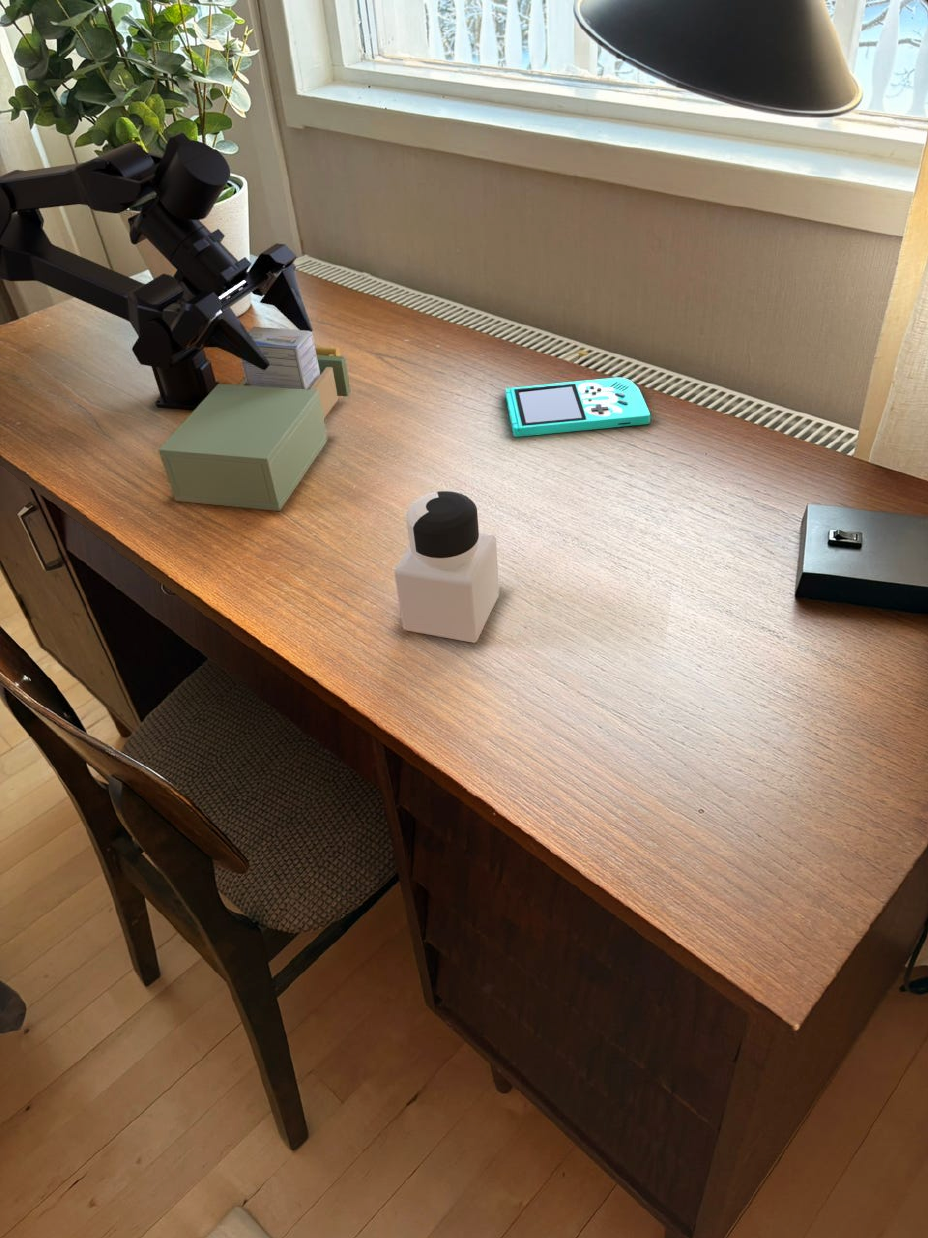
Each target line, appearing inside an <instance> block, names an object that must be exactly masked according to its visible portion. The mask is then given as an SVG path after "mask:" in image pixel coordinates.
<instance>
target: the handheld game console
mask: <svg viewBox="0 0 928 1238" xmlns="http://www.w3.org/2000/svg"><path fill="white" fill-rule="evenodd" d="M504 391H505V393H504V394H505V402H506V407H507V412H508V416H509V420H510V421H509V422H510V426H511V430H512V431H511V432H512V435H513V437H514V438H515V437H516V438H519V437H529V436H539V435H540V436H541V435H550V434H559V433H570V432H580V431H581V432H582V431H590V430H601V429H611V428H621V427H631V426H641V425H649V424H650V422H651V413H650V411H649V408H648V406H647V404H646V401H645V398H644V397H643V394H642V392H641V390H640V389H639V387H638V385H637V384H636V383H634V382H633V381H632V380H630V379H628V378H624V377H609V378H608V377H607V378H598V379H597V378H596V379H588V380H578V381H576V380H575V381H566V382H556V383H547V384H535V385H526V386H515V387H508V388H505V390H504Z"/></svg>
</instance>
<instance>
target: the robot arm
mask: <svg viewBox="0 0 928 1238" xmlns="http://www.w3.org/2000/svg"><path fill="white" fill-rule="evenodd" d="M164 148H165V149H164V152H163V154H162V155H159V154H155V153H151V152H148V151H147V150H145V149H144V147H143V146H142V145H141V144H139V143H137V142H128V143H126V144H125V143H124V144H123V145H121V146H118V147H117V148H113V149H111V150H110V151H108V152H105V153H103V154H101V155H98V156H96V157H94V158H92V159H90V160H88V161H85V162H79V163H78V162H77V163H72V164H63V165H57V166H51V167H43V168H36V169H28V170H22V169H21V170H20V169H14V170H11V171H10V172H7V173H4V174H2V175H0V280H4V281H7V282H38V283H40V284H42V285H45V286H48V287H50V288H53V289H54V290H57V291H59V292H60V293H61V292H62V293H64V294H66V295H68V296H71V297H72V298H75V299H77V300H78V301H79V300H80V301H81V302H84V303H86V304H89V305H90V306H93V307H95V308H97V309H100V310H102V311H104V312H107V313H109V314H111V315H114V316H116V317H118V318H120V319H123V320H125V321H127V322H129V323H130V325H131V326H132V329H133V330H134V331H135V333H136V335H137V337H138V338H137V339H136V341H135V343H133V346H132V347H131V351H132V353H133V354H134V356H135V358H136V359H137V361H138V363H139V364H140V365H142V366H147V367H151V370H152V374H153V377H154V379H155V383H156V385H157V389H158V392H159V395H160V396H159V398H157V399H156V400H155V401H154V404H155V406H156V407H157V408H171V409H172V408H173V409H185V410H195V409H196V408H197V407H198V406H199V405H200V403H201V402H202V401H203V400H204V399H205V398H206V397H207V396H208V395H209V394H210V392H211V391H212V390H213V389H214V388H215V387H216V386H217V385H218V384H221V382H220V381H216V378H215V374H214V370H213V367H212V362H211V360H210V359H207V355H206V352H205V348H216V349H220V350H223V351H224V352H227V353H229V354H231V355H233V356H236V357H237V358H239V359H240V360H241V359H243V360H245V361H247V362H249V363H250V364H252V365H254V366H256V367H258V368H260V369H262V370H266V369H267V368H268V367H269V362H268V360H267V359H266V357H265V355H264V354H263V352H262V351H261V349H260V348H259V347H258V345H257V344H256V342H255V341H254V340H253V338H252V337H251V336H250V334H249V333H248V332H249V331H248V330H247V329H246V327H245V326H244V324H243V323H242V321H240V319H239V318H238V316H237V314H235V312H234V310H233V309H232V308H231V307H232V306H234V305H235V304H237V303H239V301H241V300H242V299H244V298H245V297H247V296H248V295H250V294H253V295H256V296H259V297H261V299H260V301H259V303H260V304H264V305H270V306H273V307H275V308H276V309H277V310H278V311H279V312H280V313H281V314H282V315H283V316H284V317H285V318H286V319H287V320H288V321H289V322H290V323H291V324H292V325H293V326H294V327H295V328H296V329H297V330H303V331H310V332H312V333H313V332H314V331H313V326H312V323H311V320H310V317H309V314H308V312H307V309H306V307H305V304H304V301H303V298H302V295H301V291H300V289H299V285H298V281H297V278H296V274H295V271H296V269H297V265H296V264H295V261H296V259H297V258H298V256H297V255H296V254H295V253H294V251H292V250H291V248H289V246H288V245H287V244H284V243H277V242H276V243H274V244H273V245H271V246H270V247H268V248H267V249H266V250H264V251H263V252H261V253H260V254H259V255H258V257H257V258H256V259H255V261H254V263H253V264H252V262H251V261H249V259H248V258H247V257H246V256H244V257H243V258H241V259H240V260H238V259H237V258H236V257H235V256H234V255H233V254H232V253H231V252H230V250H229V249H228V248H227V247H226V246H225V245H224V244H223V243H222V241H223V240H224V238H225V237H226V235H225V234H224V233H223V232H222V231H221V230H220V229H219V228H217V229H216V230H214V231H210V230H209V228H208V227H206V225H205V224H204V223H203V222H202V221H201V220H204V219H206V218H207V217H208V216H209V215H210V213H211V211H212V210H213V208H214V206H215V204H216V203H217V201H218V200H219V198H220V196H221V194H222V193H223V191H224V189H225V187H226V186H227V184H228V182H229V181H230V178H231V167H230V165H229V163H228V161H227V159H226V158H225V156H223V153H221V152H220V151H219V150H218V149H216V148H213V147H212V146H210V145H209V144H206V143H205V142H202V141H199V140H195V139H190V138H189V137H188V136H187V135H186V134H185V133H184V132H182V131H181V132H179V133H176V134H174V135H172V136H170V137H168V141H167V142H166V144H165V147H164ZM153 196H155V197H153ZM152 197H153V198H152ZM144 201H145V202H144ZM141 202H144V203H143V205H142V208H141V209H140V210H139V212H138V213H136V214H134V215H132V216H130V217H128V218H127V223H128V226H129V239H130V243H131V244H132V245H137V244H139V243H141V242H143V241H144V240H147V241H148V242H150V244H151V245H152V246H153V247H154V248H155V249H156V250H157V251H158V252H159V253H160V254H161V255H162V256H163V257H164V258H165V259H166V260H167V262H169V263H170V264H171V265H172V266H173V267H174V268H175V269H176V271H175V273H174V274H173V276H172V275H170V274H166V273H161V274H160V275H158V276H156V277H155V278H153V279H152V280H150V281H148V282H147V283H143V282H141V281H138V280H137V279H134V278H132V277H129V276H127V275H125V274H123V273H120V272H119V271H115V270H113V269H111V268H108V267H106V266H104V265H101V264H99V263H98V262H94V261H92V260H90V259H88V258H85V257H82V256H81V255H78V254H76V253H73V252H72V251H69V250H66V249H64V248H62V247H59V246H57V245H55V244H53V243H52V241H51V240H50V238H49V236H48V235H47V233H46V231H45V229H44V225H45V224H44V223H45V219H44V215H43V214H42V213H41V209H49V208H57V207H58V208H59V207H66V206H67V207H68V206H75V205H81V206H87V207H88V208H89V209H91V210H93V211H95V212H102V213H109V214H120V213H123V212H125V211H127V210H128V209H131V208H133V207H134V206H136V205H138V204H140V203H141ZM251 265H252V266H251Z"/></svg>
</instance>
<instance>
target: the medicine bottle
mask: <svg viewBox="0 0 928 1238" xmlns="http://www.w3.org/2000/svg"><path fill="white" fill-rule="evenodd" d="M405 519H406V528H407V535H408V543H409V546H408V547H407V549H406V551H405V552H404V554H403V556H401V559H400V560H399V562H398V564H397V565H396V566H395V568H394V580H395V586H396V592H397V598H398V606H399V611H400V617H401V623H402V625H401V626H402V629H403V630H404V631H406V632H407V631H408V632H412V633H418V634H423V635H428V636H434V637H440V638H446V639H451V640H454V641H455V640H456V641H461V642H468V643H473V644H476V643H477V642H478V640H479V638H480V636H481V634H482V632H483V629H484V628H485V625H486V624H487V622H488V619H489V617H490V615H491V612H492V611H493V609H494V607H495V605H496V602H497V600H498V599H499V596H500V581H499V566H498V565H499V564H498V550H497V548H498V547H497V536H495V534H492V533H485V532H480V530H479V528H480V527H479V515H478V507H477V505H476V503H475V502H474V501H473V500H472V499H471V498H469V497H468V496H467V495H464V494H463V493H460V492H456V491H451V490H441V491H433V492H429V493H425V494H424V495H422V496H419V497H418V498H417V499H415V500H414V501H413V502H412V503H411V504H410V505H409V507H408V508H407V510H406V513H405Z"/></svg>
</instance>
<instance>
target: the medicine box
mask: <svg viewBox="0 0 928 1238" xmlns="http://www.w3.org/2000/svg"><path fill="white" fill-rule="evenodd" d="M248 333H249V334H250V336H251V337H252V338H253V340H254V341H255V342H256V344H257V345H258V347H259V348H260V349H261V351H262V352H263V354H264V355H265V357H266V359H267V360H268V362H269V367H268V368H267V369H266V370H262V369H260V368H258V367H256V366H254V365H252V364H250V363H249V362H247V361H245V360H243V359H241V358H240V361H241V365H242V369H243V373H244V377H246V381H247V385H248V386H261V387H277V388H292V389H308V390H309V389H310V388H311V387H312V385H313V384H314V383H315V381H316V380H317V379H318V378H319V376H320V370H319V365H318V360H317V355H316V350H315V347H316V346H315V341H314V336H313V331H312V332H310V331H303V330H299V329H292V328H291V329H290V328H277V327H262V326H253V327H252V328H251V329H250V330H249V331H248Z"/></svg>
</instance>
